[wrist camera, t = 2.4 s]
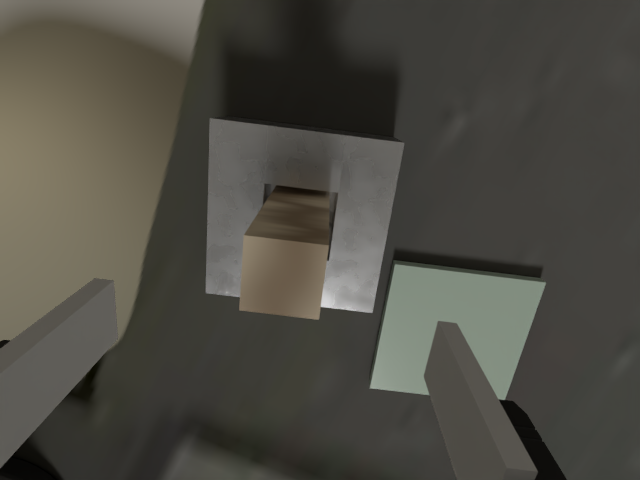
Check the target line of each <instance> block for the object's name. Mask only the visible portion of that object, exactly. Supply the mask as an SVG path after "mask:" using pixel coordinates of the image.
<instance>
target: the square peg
mask: <svg viewBox="0 0 640 480" xmlns="http://www.w3.org/2000/svg"><path fill="white" fill-rule="evenodd" d="M329 198H330V192H328V191H320V190H312V189H304V188H296V187H288V186H280V185H276V186H275V188H274V190H273V191H272V193H271V194H270V196H269V197H268V199H267V200H266V202H265V203H264V205H263V206H262V208H261V209H260V211H259V212H258V214H257V215H256V217H255V219H254V220H253V222H252V223H251V225H250V226H249V228H248V229H247V231H246V232H245V234H244V237H243V255H242V272H241V290H240V308H239V310H241V311H250V312H258V313H267V314H275V315H283V316H292V317H300V318H309V319H317V320H319V314H320V307H321V300H322V293H323V285H324V278H325V271H326V263H327V256H328V249H329Z"/></svg>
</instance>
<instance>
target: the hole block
mask: <svg viewBox="0 0 640 480" xmlns="http://www.w3.org/2000/svg"><path fill="white" fill-rule="evenodd" d="M403 148H404V142H402V141H400V140H398V139H397V138H395V137H390V136H382V135H374V134H367V133H359V132H351V131H343V130H335V129H327V128H319V127H311V126H303V125H296V124H288V123H280V122H272V121H264V120H256V119H248V118H240V117H233V116H223V117H215V118H210V132H209V175H208V219H207V262H206V293H210V294H219V295H227V296H235V297H240V290H241V272H242V255H243V237H244V234H245V232H246V231H247V229H248V228H249V226H250V225H251V223H252V222H253V220H254V219H255V217H256V215H257V214H258V212H259V211H260V209H261V208H262V206H263V205H264V203H265V202H266V200H267V199H268V197H269V196H270V194H271V193H272V191H273V190H274V188H275V186H276V185H280V186H288V187H296V188H304V189H312V190H320V191H328V192H330V198H329V249H328V256H327V263H326V271H325V278H324V285H323V293H322V300H321V307H327V308H336V309H344V310H352V311H361V312H369V313H372V312H373V306H374V301H375V296H376V290H377V285H378V280H379V275H380V269H381V264H382V259H383V253H384V248H385V243H386V238H387V232H388V227H389V222H390V216H391V211H392V206H393V201H394V195H395V190H396V185H397V179H398V174H399V169H400V164H401V158H402V153H403Z"/></svg>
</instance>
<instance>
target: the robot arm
mask: <svg viewBox="0 0 640 480" xmlns="http://www.w3.org/2000/svg"><path fill="white" fill-rule="evenodd" d="M117 339H118V333H117V319H116V305H115V291H114V281H113V280H105V279H96V278H94V279H93V280H92V281H90V282H89V283H88V284H86V285H85V286H84V287H82V288H81V289H80V290H78V291H77V292H76V293H74V294H73V295H72V296H70V297H69V298H68V299H66V300H65V301H64V302H62V303H61V304H60V305H58V306H57V307H55V308H54V309H53V310H52V311H50V312H49V313H47V314H46V315H45V316H44V317H42V318H41V319H39V320H38V321H37V322H35V323H34V324H33V325H31V326H30V327H29V328H27V329H26V330H25V331H23V332H22V333H21V334H19V335H18V336H16V337H15V338H14V339H13V340H11V341H10V340H3V341H0V480H55V479H54V478H53V477H52V476H51V475H49V474H48V473H46V472H45V471H43V470H42V469H40V468H38V467H36V466H35V465H32V464H30V463H28V462H25V461H22V460H19V459H16V458H12V457H11V456H12V455H13V454H14V453H15V452H16V450H17V449H18V448H19V447H20V446H21V445H22V444H23V443H24V442H25V441H26V439H27V438H28V437H29V436H30V435H31V434H32V433H33V432H34V431H35V430H36V428H37V427H38V426H39V425H40V424H41V423H42V422H43V421H44V420H45V419H46V417H47V416H48V415H49V414H50V413H51V412H52V411H53V410H54V409H55V407H56V406H57V405H58V404H59V403H60V402H61V401H62V400H63V399H64V398H65V396H66V395H67V394H68V393H69V392H70V391H71V390H72V389H73V388H74V387H75V385H76V384H77V383H78V382H79V381H80V380H81V379H82V378H83V377H84V376H85V374H86V373H87V372H88V371H89V370H90V369H91V368H92V367H93V366H94V364H95V363H96V362H97V361H98V360H99V359H100V358H101V357H102V356H103V355H104V353H105V352H106V351H107V350H108V349H109V348H110V347H111V346H112V345H113V344H114V342H115V341H116V340H117ZM424 379H425V382H426V385H427V389H428V392H429V395H430V398H431V401H432V404H433V407H434V410H435V413H436V417H437V420H438V423H439V426H440V429H441V432H442V435H443V438H444V441H445V445H446V448H447V451H448V454H449V457H450V460H451V463H452V466H453V469H454V472H455V476H456V479H457V480H567V479H566V478H565V476H564V474H563V473H562V471H561V469H560V468H559V466H558V464H557V463H556V461H555V460H554V458H553V456H552V455H551V453H550V451H549V450H548V448H547V446H546V445H545V443H544V442H542V438H541V437H540V435H539V433H538V432H537V430H535V427H534V425H533V424H532V422H531V420H530V419H529V417H528V415H527V414H526V413H525V412H524V411H523V410H522V409H521V408H520V407H519V406H518V405H517V404H516V403H515V402H513V401H508V400H500V399H498V398H497V396H496V394H495V392H494V390H493V388H492V387H491V385H490V383H489V381H488V379H487V378H486V376H485V374H484V372H483V370H482V368H481V367H480V365H479V363H478V361H477V359H476V357H475V356H474V354H473V352H472V350H471V348H470V346H469V345H468V343H467V341H466V339H465V337H464V335H463V334H462V332H461V330H460V328H459V326H458V324H457V323H452V322H444V321H438V323H437V326H436V330H435V334H434V338H433V342H432V346H431V350H430V353H429V357H428V361H427V365H426V369H425V373H424Z"/></svg>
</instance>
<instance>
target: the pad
mask: <svg viewBox="0 0 640 480" xmlns="http://www.w3.org/2000/svg"><path fill="white" fill-rule="evenodd" d="M545 284H546V282H545V281H544V280H542V279H541V278H537V277H528V276H520V275H512V274H504V273H495V272H487V271H479V270H471V269H463V268H454V267H446V266H438V265H430V264H422V263H413V262H405V261H397V260H393V264H392V269H391V274H390V279H389V284H388V289H387V294H386V299H385V304H384V309H383V314H382V319H381V324H380V329H379V334H378V339H377V344H376V349H375V354H374V359H373V364H372V369H371V374H370V379H369V385H370V388H373V389H382V390H390V391H399V392H408V393H416V394H425V395H429V392H428V389H427V385H426V382H425V379H424V373H425V369H426V365H427V361H428V357H429V353H430V350H431V346H432V342H433V338H434V334H435V330H436V326H437V323H438V321H444V322H452V323H457V324H458V326H459V328H460V330H461V332H462V334H463V335H464V337H465V339H466V341H467V343H468V345H469V346H470V348H471V350H472V352H473V354H474V356H475V357H476V359H477V361H478V363H479V365H480V367H481V368H482V370H483V372H484V374H485V376H486V378H487V379H488V381H489V383H490V385H491V387H492V388H493V390H494V392H495V394H496V396H497V398H498V399H500V400H505V398H506V395H507V392H508V389H509V387H510V384H511V381H512V378H513V375H514V372H515V370H516V367H517V364H518V361H519V358H520V355H521V353H522V350H523V347H524V344H525V341H526V338H527V335H528V333H529V330H530V327H531V324H532V321H533V318H534V316H535V313H536V310H537V307H538V304H539V301H540V299H541V296H542V293H543V290H544V287H545Z"/></svg>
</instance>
